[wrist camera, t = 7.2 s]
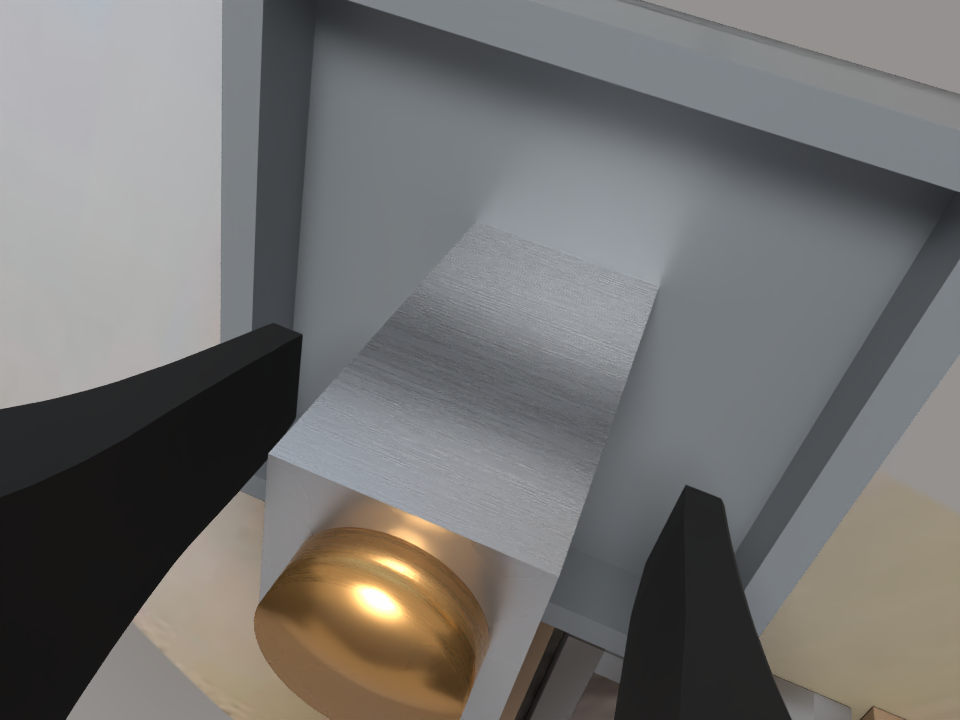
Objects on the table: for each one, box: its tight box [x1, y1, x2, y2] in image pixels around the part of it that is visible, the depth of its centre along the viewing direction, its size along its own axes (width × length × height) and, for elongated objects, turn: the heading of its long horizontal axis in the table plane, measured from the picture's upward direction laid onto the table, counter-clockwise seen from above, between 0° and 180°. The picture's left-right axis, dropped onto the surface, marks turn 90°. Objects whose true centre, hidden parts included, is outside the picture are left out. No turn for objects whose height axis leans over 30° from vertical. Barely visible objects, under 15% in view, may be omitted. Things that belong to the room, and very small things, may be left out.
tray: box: [221, 0, 960, 657], centre depth 17 cm, size 14×14×2 cm
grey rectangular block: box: [254, 222, 659, 720], centre depth 14 cm, size 4×4×9 cm
